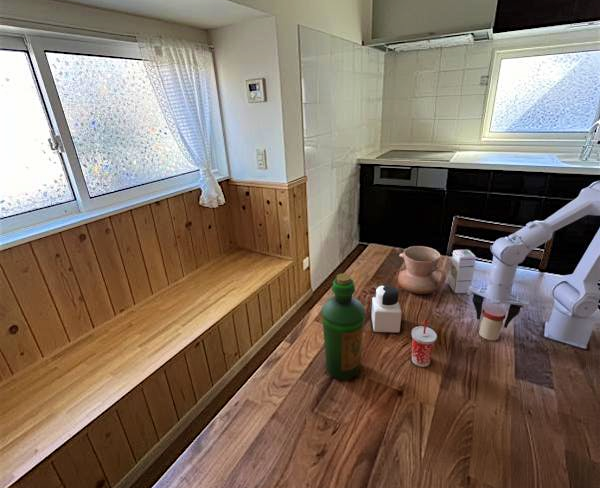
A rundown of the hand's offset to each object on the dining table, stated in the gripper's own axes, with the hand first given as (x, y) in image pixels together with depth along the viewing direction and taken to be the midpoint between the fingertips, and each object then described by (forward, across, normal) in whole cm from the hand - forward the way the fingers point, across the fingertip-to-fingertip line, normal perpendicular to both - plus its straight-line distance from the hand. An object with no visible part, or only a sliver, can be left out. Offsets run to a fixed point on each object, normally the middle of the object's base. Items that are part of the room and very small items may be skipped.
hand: (491, 321), depth 96 cm
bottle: (+5, -29, -35) cm, 46 cm away
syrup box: (+5, -13, +21) cm, 25 cm away
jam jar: (+5, 0, 0) cm, 5 cm away
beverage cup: (+5, -13, -21) cm, 25 cm away
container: (+5, -27, -12) cm, 30 cm away
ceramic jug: (+5, -25, +14) cm, 29 cm away
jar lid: (-4, 0, 0) cm, 4 cm away
